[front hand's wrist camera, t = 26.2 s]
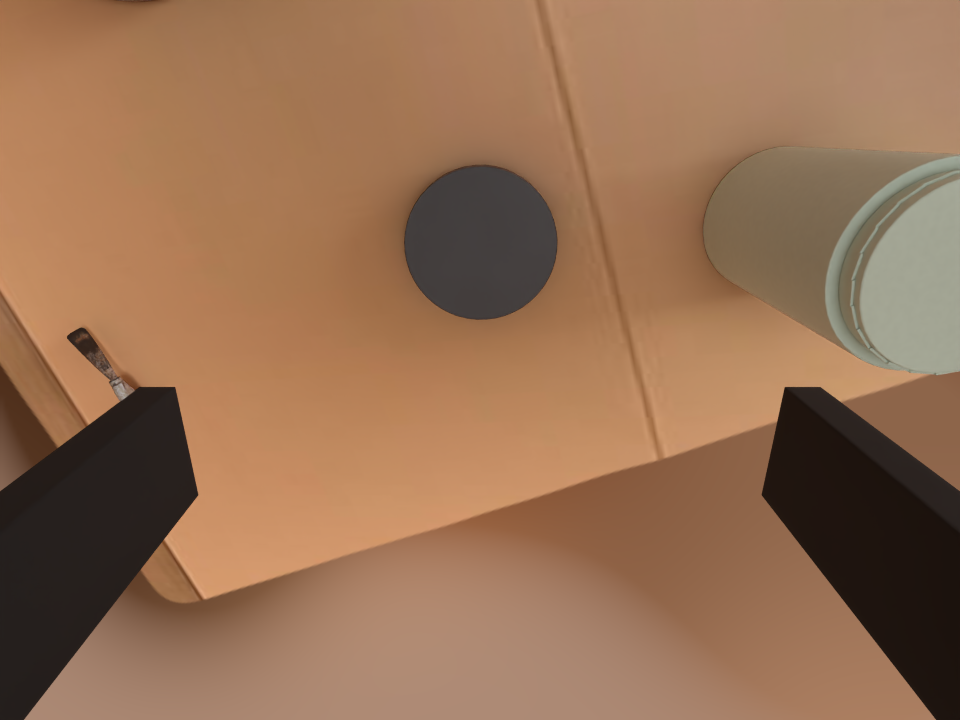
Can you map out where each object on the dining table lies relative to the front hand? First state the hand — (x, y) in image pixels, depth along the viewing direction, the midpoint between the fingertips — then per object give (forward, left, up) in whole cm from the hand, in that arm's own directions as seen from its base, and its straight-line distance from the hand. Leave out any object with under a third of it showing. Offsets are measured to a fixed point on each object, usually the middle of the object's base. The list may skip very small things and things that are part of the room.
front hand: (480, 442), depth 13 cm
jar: (+19, 0, -26) cm, 33 cm away
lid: (0, 0, -25) cm, 25 cm away
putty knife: (-26, -8, -26) cm, 38 cm away
